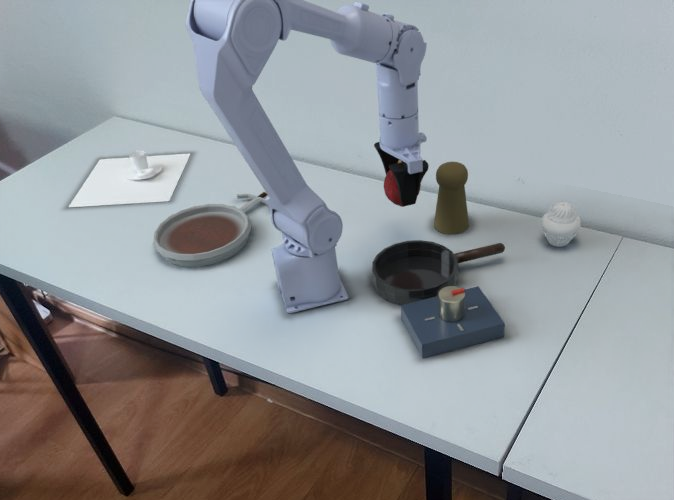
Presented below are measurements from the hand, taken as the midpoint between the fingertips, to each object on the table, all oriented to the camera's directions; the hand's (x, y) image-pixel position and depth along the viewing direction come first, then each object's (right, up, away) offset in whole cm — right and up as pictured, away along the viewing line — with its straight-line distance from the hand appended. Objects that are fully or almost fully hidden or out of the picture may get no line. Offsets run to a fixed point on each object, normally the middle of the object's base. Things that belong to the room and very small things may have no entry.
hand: (402, 194), depth 104 cm
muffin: (+25, -7, +3) cm, 27 cm away
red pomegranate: (0, -2, +2) cm, 2 cm away
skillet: (+2, -14, -2) cm, 14 cm away
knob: (+6, -20, -13) cm, 24 cm away
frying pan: (-31, -2, +14) cm, 34 cm away
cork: (+9, -3, +9) cm, 13 cm away
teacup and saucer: (-54, +10, +30) cm, 62 cm away
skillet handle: (+12, -10, -1) cm, 16 cm away
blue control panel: (+6, -21, -11) cm, 25 cm away
